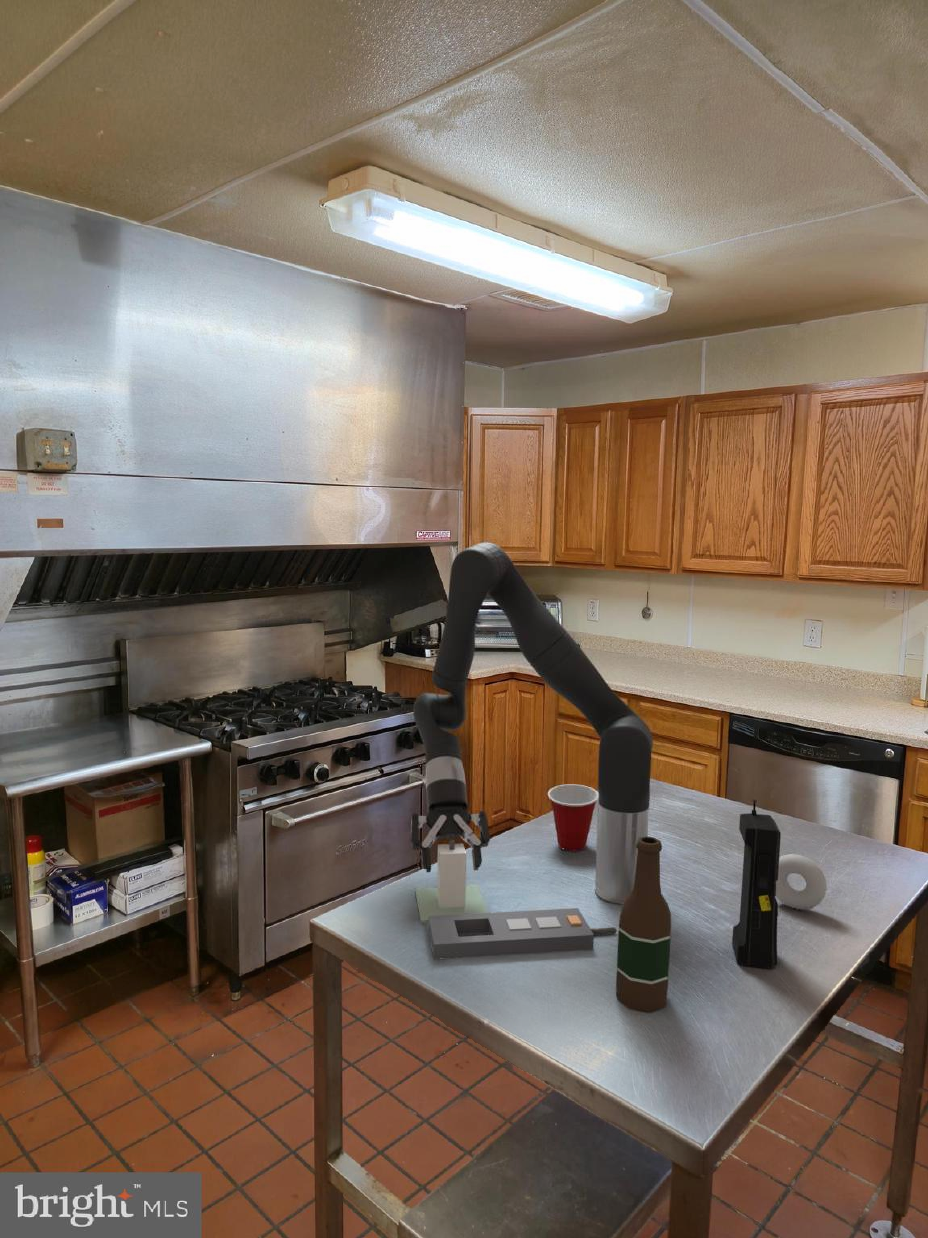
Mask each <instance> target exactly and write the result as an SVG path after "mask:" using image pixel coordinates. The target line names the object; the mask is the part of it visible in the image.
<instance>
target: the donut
mask: <svg viewBox="0 0 928 1238" xmlns="http://www.w3.org/2000/svg"><path fill="white" fill-rule="evenodd" d="M791 874H797V875H800V876H801V877H802V878H803V879H804V881H805V884H806V885H805V887H804V889H799V890H798V889H795V888H793V887H792V886H791V885H790V883H789V881H788V877H789V876H790V875H791ZM827 888H828V887H827V879H826V877H825V874H824V872H823V871H822V869H821V868H820V867H819V865H818V864H817V862H816V863H815V861H813V860H812V859H810V858H809V857H807V856H803V855H801V854H796V853H789V854H784V855H781V856H779V870H778V880H777V881H776V896H775V898H776V900H777V901H780V902H781V903H782V904H783V905H785V906H787V907H789V906H790V907H789V908H791V907H792V909H793V908H796V909H795V910H799V909H801V910H800V911H806V910H810V909H814V908H815V907H817V906H819V905H820V904H821V903H822V901H824V899H825V896H826V893H827Z"/></svg>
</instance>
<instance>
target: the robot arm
mask: <svg viewBox="0 0 928 1238" xmlns="http://www.w3.org/2000/svg"><path fill="white" fill-rule="evenodd" d="M487 595H488V596H489V597H490V598H491V599H492V600H493V601H494V602H495V604H496V605H497V606H498V607H499V608H500V609H501V611H502V612H503V613H504V615H505V617H506V618H507V620H508V622H509V624H510V626H511V630H512V632H513V634H514V637H515V641H516V643H517V645H518V647H519V650H520V651H521V654H522V655H523V657H524V658H525V659H526V661H527V662H528V663H529V665H530V666H531V668H533V670H534V671H535V672H536V673H537V675H538V676H539V677H540V678H541V679H542V680H543V682H545V684H547V686H548V687H550V688H551V689H552V690H553V691H554V692H555V693H557V695H559V696H561V697H562V698H563V699H565V700H566V701H567V702H569V703H570V704H571V705H572V706H573V707H575V708H576V709H577V710H578V711H579V712H581V714H582V715H583V716H584V717H585V718H586V720H587V721H588V723H590V726H592V728H593V729H594V731H595V732H596V733H597V736H598V737H599V738H600V740H599V747H598V761H597V762H598V763H597V764H598V770H597V792H598V794H599V797H598V800H597V802H598V805H597V807H598V808H597V827H596V828H597V829H596V851H595V852H596V853H595V854H596V855H595V878H594V883H595V884H594V891H595V894H596V895H597V896H598V897H599V898H601V899H603V900H604V901H607V902H610V903H614V904H618V905H619V904H620V905H621V904H622V905H623V904H624V901H625V899H626V897H627V896H628V895H629V893H630V892H631V891H632V890H633V887H634V881H635V872H636V863H637V854H638V849H637V848H636V845H637V841H638V838H641V837H649V815H650V800H651V799H650V797H651V787H650V786H651V767H652V749H653V744H654V741H653V740H654V739H653V734H652V731H651V730H650V727H649V726H648V724H647V723H646V722H645V721H644V720H643V719H642V718H641V717H640V716H639V715H638V714H636V712H634V710H632V708H631V707H629V706H628V705H627V703H625V702H624V700H622V699H621V697H620V696H618V695H617V694H616V693H615V691H614V690H613V689H612V688H611V687H610V686H609V684H608V683H607V682H606V680H605V679H604V677H603V676H602V675H601V673H600V672H599V671H598V669H597V668H596V667H595V664H594V663H593V662H592V661H591V660H590V659H589V658H588V656H587V655H586V653H585V652H584V650H583V649H582V648H581V647H580V645H579V644H578V643H577V642H576V640H575V639H574V638H573V637H572V636H571V635H570V634H569V633H568V631H567V630H566V629H565V628H564V627H563V626H562V625H561V624H560V621H558V620H557V619H556V618H555V616H554V615H553V614H552V612H551V611H550V610H549V609H548V608H547V607H546V606H545V604H543V602H542V601H541V600H540V599H539V598H538V596H537V595H536V594H535V593H534V592H533V590H532V589H531V587H530V586H529V585H528V583H527V581H525V579H524V578H523V575H521V573H520V572H519V570H518V568H517V567H516V565H515V563H514V562H513V561H512V559H511V558H510V557H509V555H508V554H507V553H506V552H505V550H504V549H502V548H501V547H500V546H498V545H497V544H495V543H491V542H486V541H485V542H480V543H479V542H478V543H476V544H475V545H472V546H469V547H466V548H465V549H462V550H461V551H459V552H458V553H457V555H456V556H455V557H454V559H453V561H452V564H451V569H450V577H449V587H448V598H447V606H446V614H445V621H444V627H443V631H442V637H441V639H440V644H439V648H438V652H437V655H436V660H435V663H434V665H433V669H432V673H431V681H432V683H433V685H434V686H435V687H437V688H438V689H440V690H442V691H444V692H448V693H449V695H448V694H439V693H431V692H425V693H422V694H419V696H418V697H417V698H416V700H415V701H414V704H413V710H412V711H413V718H414V722H415V725H416V727H417V730H418V732H419V735H420V738H421V741H422V744H423V746H424V755H425V757H424V758H425V785H424V786H425V790H426V792H425V793H426V805H427V814H426V815H419V814H418V813H416V812H414V813H412V815H411V821H410V823H411V824H410V848H411V850H413V851H414V850H417V851H419V852H420V854H421V866H422V869H423V870H425V873H431V870H432V861H431V846H432V845H433V844H434V843H435V842H436V840H437V838H439V839H441V840H447V839H451V840H458V839H459V838H461V839H462V840H463V841H464V842H465V843H467V844H468V845H469V846H470V847H471V857H472V859H471V860H472V868H473V871H479V868H480V867H481V866H482V862H483V859H482V850H481V849H482V848H486V847H489V843H490V841H491V835H490V832H489V831H490V830H489V825H488V819H487V813H486V811H484V810H482V811H479V813H472V814H471V812H470V810H469V808H468V807H469V805H468V796H467V785H466V776H465V770H464V767H463V760H462V759H463V757H462V749H461V743H460V739H459V737H457V735H455V734H453V733H451V732H448V731H456V730H458V729H460V728H461V727H462V726H463V724H464V723H465V721H466V717H467V716H466V715H467V714H466V711H467V710H466V708H467V707H466V689H467V681H468V679H469V675H470V671H471V668H472V664H473V660H474V656H475V655H474V654H475V650H476V648H475V647H476V624H477V619H478V615H479V612H480V609H481V607H482V605H483V603H484V601H485V599H486V597H487ZM471 822H473V823H474V825H475V826H477V827H478V829H479V835H480V838H478V836H477V835H476V834H475V833H474V831H473V830H472V828H471V827H470V826H469V825H470V824H471ZM425 823H426V825H427V826H428V828H429V829H430V830H429V832H428V833H427V835H426V837H425V838H424V840H419V829H421V828H422V827H423V824H425Z"/></svg>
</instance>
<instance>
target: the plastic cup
mask: <svg viewBox="0 0 928 1238" xmlns="http://www.w3.org/2000/svg"><path fill="white" fill-rule="evenodd" d="M547 795H548V798H549V800H550V803H551V807H552V812H553V813H552V814H553V819H554V826H555V831H556V838H557V843H558V847H559V846H560V847H561V848H560V847H559V848H560V849H562V848H564V849H566V850H565V851H568V850H571V851H570V852H578V851H577V850H580V851H582V850H581V849H583V848H584V849H585V848H586V846H587V843H588V839H589V838H588V837H589V833H590V829H591V824H592V820H593V815H594V810H595V807H596V804H597V802H598V800H599V792H598V790H596V789H594V788H593V787H589V786H586V785H584V784H574V783H572V784H571V783H570V784H569V783H568V784H560V785H556V786H554V787H552V788H550V789H549V790H548V792H547ZM564 849H563V850H564ZM584 849H583V850H584ZM574 850H575V851H574Z"/></svg>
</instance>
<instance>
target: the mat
mask: <svg viewBox="0 0 928 1238" xmlns="http://www.w3.org/2000/svg"><path fill="white" fill-rule="evenodd" d="M414 893H415V897H416V902H417V908H418V909H417V910H418V915H419V919H420V923H421V924H428V916H442V915H460V914H478V913H489V911H488V908H487V905H486V902H485V899H484V896H483V893H482V890H481V888H480V885H466V895H465V907H453V908H439V904H438V899H437V886H436V887H417V888H415V889H414Z"/></svg>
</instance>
